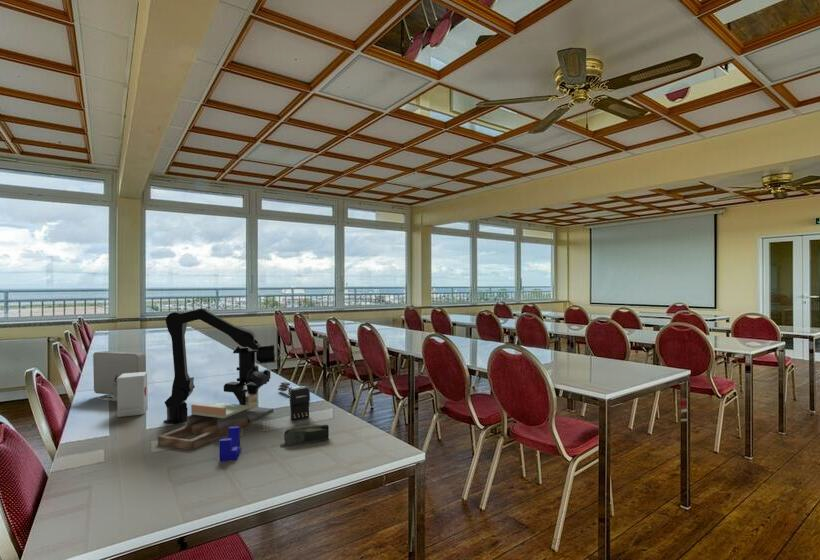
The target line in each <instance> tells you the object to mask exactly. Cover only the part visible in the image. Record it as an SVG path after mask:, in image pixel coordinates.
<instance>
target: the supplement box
mask: <svg viewBox="0 0 820 560" xmlns="http://www.w3.org/2000/svg"><path fill="white" fill-rule="evenodd" d="M148 388H149V387H148V371H146V372H138V373H125V374H122V375H120V376H119V377H118V378H117V401H116V402H117V408H116V409H117V417H118V418H121V417H123V418H124V417H131V416H140V415H145V414H146V412H147V410H148V409H149V404H148V403H149V400H148V399H149V398H148V396H149V395H148V391H149V389H148Z"/></svg>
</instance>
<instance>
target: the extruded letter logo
mask: <svg viewBox="0 0 820 560" xmlns="http://www.w3.org/2000/svg"><path fill="white" fill-rule="evenodd" d="M290 386H291V383H290V382H286V381H285V382H281V383H280V385H279V386H278V387H279V388H278V389H277V391H281V392H287V391H288V396H289V395H290V390H291V389H292V388H293V387H290Z"/></svg>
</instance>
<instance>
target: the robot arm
mask: <svg viewBox="0 0 820 560" xmlns="http://www.w3.org/2000/svg"><path fill="white" fill-rule="evenodd" d="M197 320H200V321H202V322H203V323H205V324H208V325H209V326H211V327H213V328H215V329H216V330H218V331H220V332H222V333H224V334H225V335H227V336H229V337H230V339H232V340H233V341H234V342H235V343H236V344H237V345H238V346H237V347H236V348H235V349H234V350H233V351H232V353H233V354H238V367H236V371H238V377H237V378H236V381H230V382H227V383H225V384H224V385H223V392H225V393H233V395H234V396H235V398H236V399H237V401H238V403H240V405H245V396H246V393H251V394H257V395H258V392H259V389H260V388H261V387H262V386H264V385H267V383H269V382H270V379H271V375H272V374H271V370H269V369H265V370H263V371H262V370H261V371H260V370H259V367H258V365H256V362H259V364H270V363H271V364H272V363H276V351H275V349H276V348H275V344H269V345H261V344H260V342H259V341H258V340H257V339H256V335H255V333H254V331H252V330H249V329H247V328H244V327H241V326H240V327H239V326H237V325H234V324H233V323H230V322H228V321H227V320H225V319H224V318H222V317H220V316H217V315H216V314H214V313H212V311H211V312H210V311H209V310H207V309H206V308H203V307H201V308H198V309H195V310H190V311H186V312H183V311H181V310H179V311H173V312H171V313H169V314H168V315H167V316H166V318H165V324H166V328H167V331H168V333H169V335H170V338H171V346H172V347H171V349H172V358H173V359H172V360H173V369H174V370H173V373H174V378H173V382H172V389H171V395H170V396H169V397H168V398H166V400H165V401H164V405H165V406H166V419H165V420H163V423H166V424H175V425H177V424H180V423H183V422H187V416H189V415H188V405H187V404H188V403H187V402H186V401H187V400H188V398H189V397H190V396H191V395H192V393H193V391H194V389H195V388H196V386H195V384H194V383H195V382H194V380H195V378H194V376H192V377H191V376H190V375H189V373H188V364H187V363H188V361H187V359H188V358H187V352H186V351H187V350H186V348H187V347H186V338H185V335H186V331H187V326H188V323H191V322H195V321H197ZM255 353H256V354H255ZM246 388H247V389H246Z"/></svg>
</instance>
